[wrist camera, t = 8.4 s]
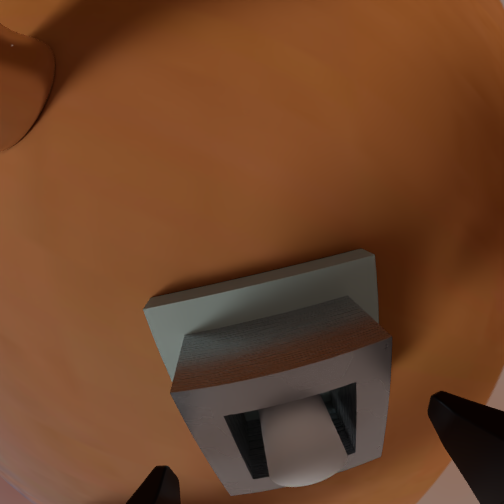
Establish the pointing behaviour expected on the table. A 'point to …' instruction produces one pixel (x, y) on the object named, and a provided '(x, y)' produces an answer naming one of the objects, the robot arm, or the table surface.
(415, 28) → the table surface
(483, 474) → the robot arm
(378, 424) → the square ring block
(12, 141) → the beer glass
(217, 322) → the shaft block
